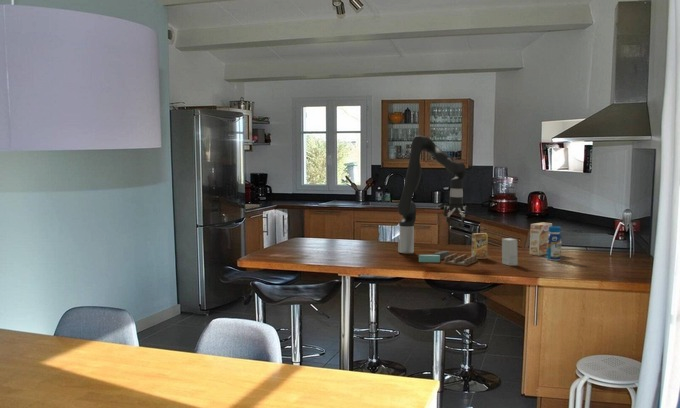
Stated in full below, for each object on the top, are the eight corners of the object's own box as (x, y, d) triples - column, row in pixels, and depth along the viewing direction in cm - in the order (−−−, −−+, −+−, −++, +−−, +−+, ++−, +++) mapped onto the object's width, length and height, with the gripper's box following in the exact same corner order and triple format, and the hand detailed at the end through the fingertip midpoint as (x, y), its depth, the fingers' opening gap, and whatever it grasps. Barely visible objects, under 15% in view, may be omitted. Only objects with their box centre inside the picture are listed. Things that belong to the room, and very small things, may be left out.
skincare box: (517, 265, 337) (518, 239, 336) (508, 265, 336) (508, 240, 334) (510, 262, 345) (511, 237, 344) (500, 263, 344) (501, 237, 342)
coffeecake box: (539, 255, 369) (540, 224, 367) (528, 254, 374) (529, 223, 373) (551, 253, 379) (552, 223, 377) (541, 251, 384) (542, 222, 383)
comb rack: (466, 265, 335) (466, 259, 335) (443, 263, 343) (443, 257, 342) (477, 260, 350) (477, 255, 350) (455, 258, 358) (455, 252, 358)
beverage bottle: (550, 257, 362) (551, 225, 360) (563, 259, 356) (564, 226, 354) (543, 259, 356) (544, 226, 354) (557, 261, 350) (558, 228, 348)
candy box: (474, 259, 356) (475, 234, 354) (470, 258, 360) (471, 233, 358) (487, 258, 358) (488, 233, 357) (483, 257, 362) (484, 232, 361)
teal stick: (419, 262, 346) (419, 255, 346) (418, 261, 350) (418, 254, 349) (439, 262, 346) (439, 255, 345) (439, 261, 349) (439, 254, 349)
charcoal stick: (438, 260, 353) (438, 253, 352) (433, 259, 355) (433, 253, 355) (449, 257, 361) (449, 251, 361) (444, 257, 364) (444, 250, 363)
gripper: (466, 195, 352) (465, 222, 354) (442, 195, 351) (441, 222, 353) (470, 196, 345) (468, 224, 347) (446, 196, 344) (445, 224, 345)
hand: (455, 223), depth 350 cm, fingers open, 8 cm apart
